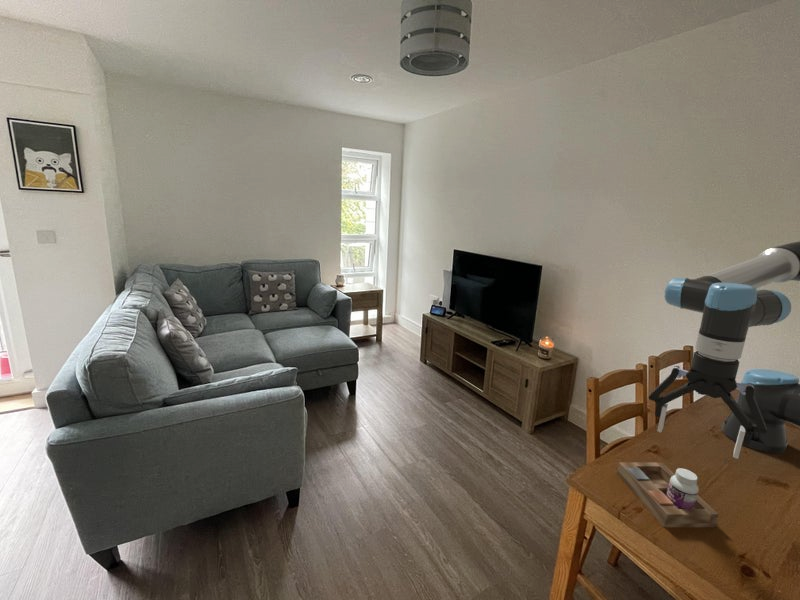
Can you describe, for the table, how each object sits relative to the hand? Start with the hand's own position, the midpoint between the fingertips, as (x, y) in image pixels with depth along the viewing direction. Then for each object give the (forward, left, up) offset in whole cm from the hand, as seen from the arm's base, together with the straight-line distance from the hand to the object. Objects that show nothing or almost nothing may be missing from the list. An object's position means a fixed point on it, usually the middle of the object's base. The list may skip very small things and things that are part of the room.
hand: (695, 441), depth 83 cm
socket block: (+1, -4, -19) cm, 19 cm away
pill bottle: (+1, +1, -18) cm, 18 cm away
